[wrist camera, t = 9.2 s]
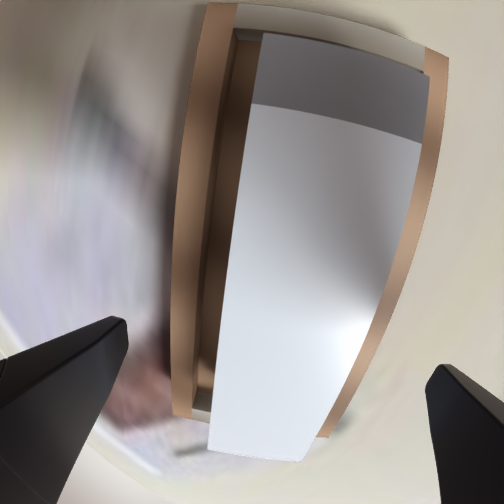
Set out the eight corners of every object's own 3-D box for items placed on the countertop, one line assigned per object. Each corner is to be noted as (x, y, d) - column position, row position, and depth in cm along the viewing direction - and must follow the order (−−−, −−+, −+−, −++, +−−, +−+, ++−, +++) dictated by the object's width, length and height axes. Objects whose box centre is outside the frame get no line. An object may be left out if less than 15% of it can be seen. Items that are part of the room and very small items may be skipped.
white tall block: (298, 392, 16) (300, 461, 11) (223, 381, 16) (207, 449, 12) (375, 98, 10) (430, 76, 6) (269, 75, 10) (263, 32, 6)
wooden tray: (218, 24, 10) (206, 2, 8) (424, 68, 10) (449, 58, 8) (182, 387, 18) (172, 414, 16) (326, 409, 18) (329, 437, 16)
